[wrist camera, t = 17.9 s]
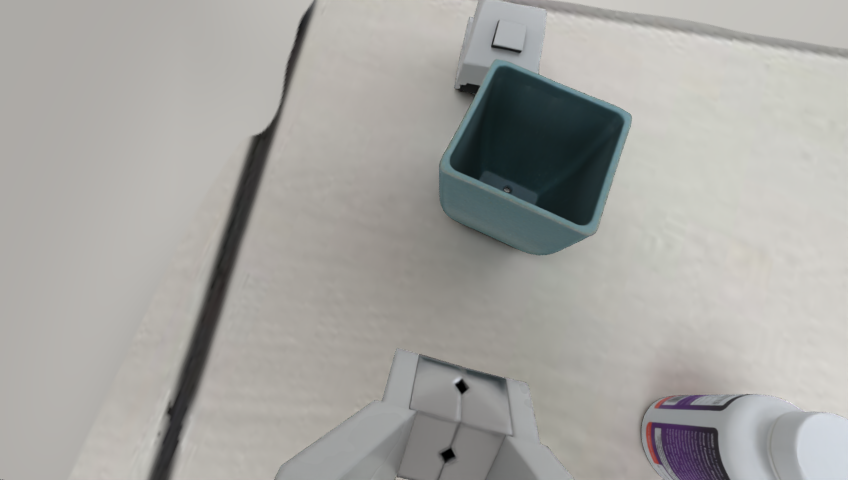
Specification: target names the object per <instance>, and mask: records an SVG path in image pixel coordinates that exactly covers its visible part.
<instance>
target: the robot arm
mask: <svg viewBox="0 0 848 480" xmlns="http://www.w3.org/2000/svg"><path fill="white" fill-rule="evenodd" d="M396 477H400V478H404V479H408V480H574V478H573V477H572V476H571V475H570V473H569V472H568V471H567V470H566V468H565V467H564V466H563V465H562V464H561V462H560V461H559V460H558V459H557V457H556V456H555V455H554V454H553V452H552V451H551V450H550V449H549V448H548V447H547V446H544V445H541V444H540V439H539V434H538V429H537V424H536V419H535V414H534V409H533V404H532V399H531V394H530V389H529V385H528V384H527V383H526V382H522V381H518V380H514V379H510V378H506V377H504V378H503V377H499V376H496V375H492V374H488V373H484V372H480V371H477V370H473V369H469V368H465V367H462V366H459V365H455V364H452V363H449V362H445V361H442V360H438V359H435V358H432V357H428V356H425V355H422V354H419V356H418V354H417V353H414V352H410V351H407V350H403V349H400V348H397V349H396V351H395V355H394V358H393V362H392V366H391V369H390V373H389V377H388V380H387V384H386V388H385V391H384V395H383V399H382V401H378V400H374V401H373V402H371V403H370V404H368V405H367V406H365V407H364V408H363V409H361V410H360V411H358V412H357V413H355V414H354V415H353V416H351V417H350V418H348V419H347V420H345V421H344V422H343V423H341V424H340V425H338V426H337V427H335V428H334V429H333V430H331V431H330V432H328V433H327V434H326V435H324V436H323V437H321V438H320V439H318V440H317V441H316V442H314V443H313V444H311V445H310V446H308V447H307V448H306V449H304V450H303V451H301V452H300V453H298V454H297V455H296V456H294V457H293V458H291V459H290V460H288V461H287V462H286V463H284V464H283V465H281V467H280V469H279V471H278V473H277V475H276V477H275V479H274V480H395V479H396ZM0 480H3V479H0Z"/></svg>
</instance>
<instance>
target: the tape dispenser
mask: <svg viewBox="0 0 848 480" xmlns="http://www.w3.org/2000/svg"><path fill="white" fill-rule="evenodd" d="M546 16H547V10H546V9H541V8H536V7H531V6H523V5H519V4H514V3H509V2H505V1H502V0H479V2H478V4H477V8H476V11H475V15H474V18H473V17H469V20H468V24H467V29H466V33H465V37H464V41H463V45H462V49H461V54H460V59H459V64H458V70H457V75H456V81H455V87H454V88H456V89H460V84H461V90H460V91H465V92H470V93H475V94H477V92H478V90H479V88H480V86H481V84H482V82H483V80H484V78H485V76H486V74H487V72H488V70H489V67H490V66H491V64H492V62H493V61H494V60H495V59H500V60H505V61H508V62H511V63H513V64H516V65H518V66H521V67H522V68H525V69H528V70H530V71H532V72H535V73H537V74H539V63H540V57H541V52H542V46H543V41H544V35H545V25H546Z"/></svg>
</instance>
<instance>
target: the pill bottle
mask: <svg viewBox="0 0 848 480" xmlns="http://www.w3.org/2000/svg"><path fill="white" fill-rule="evenodd" d="M642 442H643V447H644V450H645V453H646V456H647V458H648V460H649V462H650V463H651V465H652V466H653V468H654V469H655V470H656V471H657V473H658V474H659V475H660V476H661V477H662V478H663V479H664V480H848V419H846V418H844V417H842V416H839V415H836V414H833V413H826V412H805V411H803V410H802V409H800V408H799V407H797V406H796V405H794V404H792V403H790V402H788V401H786V400H783V399H781V398H778V397H774V396H769V395H757V394H744V395H743V394H742V395H678V396H668V397H664V398H661V399H659V400H657V401H656V402H654V403H653V404H652V405H651V406H650V408H649V409H648V410H647V412H646V414H645V416H644V419H643V423H642Z"/></svg>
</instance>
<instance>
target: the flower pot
mask: <svg viewBox="0 0 848 480" xmlns="http://www.w3.org/2000/svg"><path fill="white" fill-rule="evenodd" d="M631 122H632V116H631V114H630V113H628V112H626V111H625V110H623V109H621V108H619V107H617V106H614V105H613V104H610V103H608V102H605V101H603V100H600V99H597V98H595V97H592V96H589V95H587V94H585V93H582V92H579V91H577V90H575V89H572V88H570V87H567V86H565V85H563V84H560V83H557V82H555V81H553V80H551V79H548V78H546V77H544V76H542V75H539V74H537V73H535V72H532V71H530V70H528V69H525V68H522V67H521V66H518V65H516V64H513V63H511V62H508V61H505V60H500V59H495V60H494V61H493V62H492V64H491V66H490V67H489V70H488V72H487V74H486V76H485V78H484V80H483V82H482V84H481V86H480V88H479V90H478V92H477V94H476V96H475V97H474V100H473V101H472V103H471V105H470V107H469V109H468V111H467V113H466V115H465V116H464V118H463V120H462V122H461V124H460V126H459V128H458V129H457V131H456V133H455V135H454V137H453V139H452V140H451V142H450V144H449V146H448V147H447V150H446V151H445V152H444V154H443V156H442V158H441V161H440V164H439V193H440V203H441V206H442V208H443V210H444V212H445V213H446V214H447V215H448V216H449V217H450V218H452V219H453V220H455V221H457V222H459V223H461V224H463V225H466V226H468V227H470V228H473V229H475V230H477V231H479V232H481V233H484V234H486V235H488V236H490V237H492V238H495V239H497V240H499V241H501V242H503V243H506V244H508V245H510V246H512V247H514V248H516V249H518V250H521V251H523V252H526V253H530V254H535V255H548V254H552V253H555V252H558V251H560V250H562V249H564V248H566V247H569V246H571V245H573V244H575V243H577V242H579V241H581V240H583V239H585V238H587V237H589V236H591V235H593V234H595V233H596V231H597V229H598V227H599V224H600V220H601V216H602V214H603V210H604V206H605V204H606V200H607V197H608V194H609V191H610V187H611V185H612V181H613V177H614V175H615V172H616V168H617V166H618V162H619V159H620V156H621V153H622V150H623V147H624V144H625V141H626V138H627V135H628V132H629V129H630V127H631ZM505 187H508V188H509V189H510V192H509V193H506V192H505V191H504V188H505Z"/></svg>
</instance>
